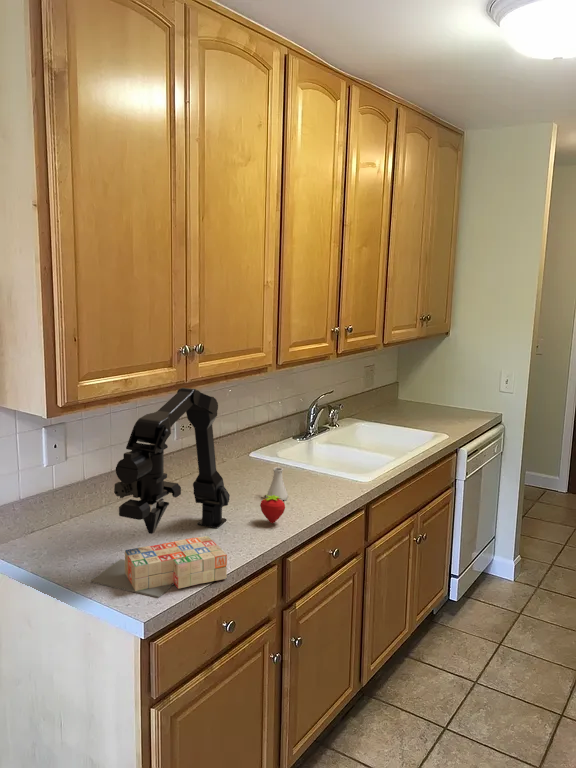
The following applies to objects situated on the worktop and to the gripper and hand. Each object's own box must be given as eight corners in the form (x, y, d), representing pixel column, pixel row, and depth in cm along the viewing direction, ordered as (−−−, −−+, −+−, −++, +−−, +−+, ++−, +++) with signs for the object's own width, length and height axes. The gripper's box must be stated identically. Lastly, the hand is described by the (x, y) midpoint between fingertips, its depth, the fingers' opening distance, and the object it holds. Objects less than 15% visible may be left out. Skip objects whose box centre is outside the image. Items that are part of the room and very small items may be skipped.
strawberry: (279, 529, 184) (280, 496, 182) (256, 524, 187) (257, 491, 185) (287, 522, 190) (289, 490, 188) (264, 517, 192) (265, 485, 191)
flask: (281, 504, 204) (282, 473, 202) (261, 499, 207) (262, 469, 206) (292, 497, 210) (293, 468, 208) (273, 492, 214) (274, 463, 212)
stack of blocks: (124, 574, 154) (138, 597, 143) (124, 549, 153) (138, 571, 142) (208, 558, 164) (227, 579, 154) (208, 535, 163) (227, 554, 152)
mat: (120, 560, 162) (120, 559, 161) (184, 574, 156) (184, 573, 156) (91, 582, 150) (90, 580, 150) (158, 597, 145) (158, 596, 144)
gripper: (143, 455, 163) (143, 514, 166) (98, 477, 146) (99, 542, 149) (182, 461, 159) (181, 521, 162) (140, 484, 142) (141, 551, 145)
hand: (151, 533), depth 155 cm, fingers closed
